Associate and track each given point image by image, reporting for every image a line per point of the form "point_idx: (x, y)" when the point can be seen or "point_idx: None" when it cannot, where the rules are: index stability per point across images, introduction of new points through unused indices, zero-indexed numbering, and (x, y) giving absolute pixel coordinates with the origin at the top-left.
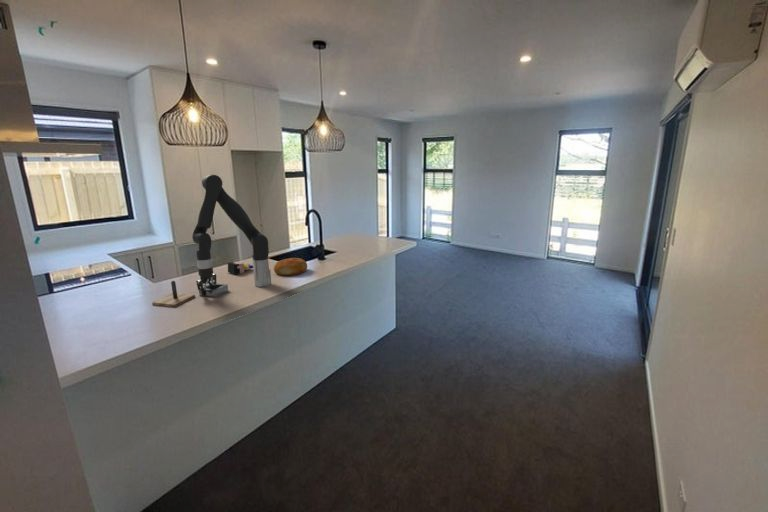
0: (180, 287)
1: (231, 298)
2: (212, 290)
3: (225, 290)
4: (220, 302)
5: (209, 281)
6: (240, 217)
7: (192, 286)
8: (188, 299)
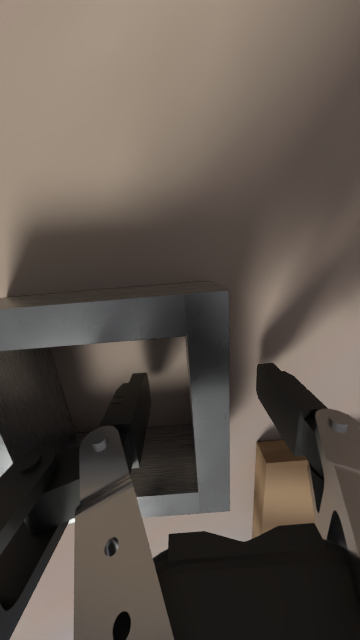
0: None
1: (196, 29)
2: (228, 343)
3: (38, 296)
4: (356, 88)
5: (220, 608)
6: None
7: None
8: None
